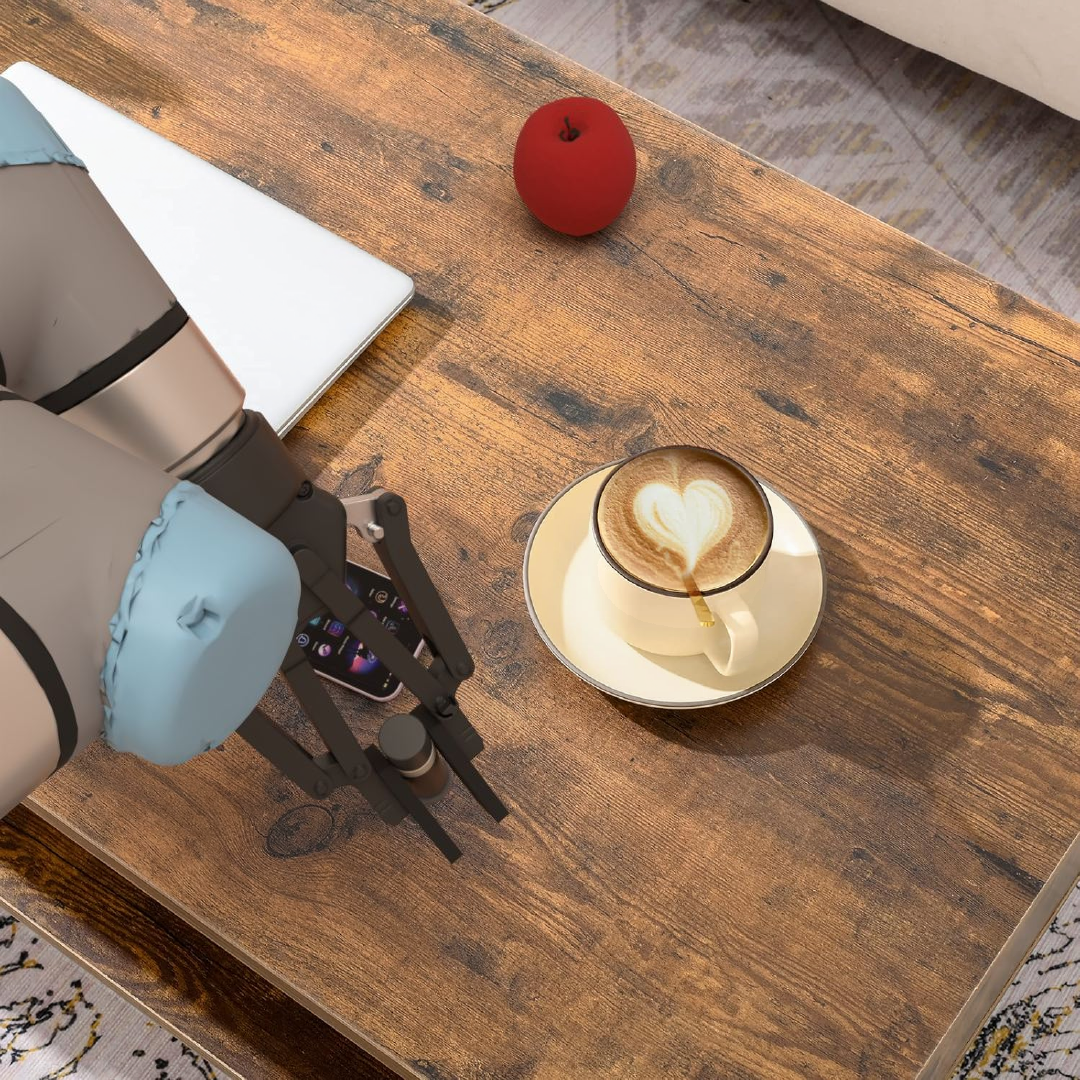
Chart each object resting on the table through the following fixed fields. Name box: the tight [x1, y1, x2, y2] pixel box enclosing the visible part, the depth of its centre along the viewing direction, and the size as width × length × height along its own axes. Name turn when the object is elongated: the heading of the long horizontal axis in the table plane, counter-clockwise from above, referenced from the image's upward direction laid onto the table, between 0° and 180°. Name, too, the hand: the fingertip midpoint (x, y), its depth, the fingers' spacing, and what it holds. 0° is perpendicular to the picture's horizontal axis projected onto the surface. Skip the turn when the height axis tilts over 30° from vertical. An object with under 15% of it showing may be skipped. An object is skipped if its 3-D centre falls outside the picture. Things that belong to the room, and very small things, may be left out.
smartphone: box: [296, 559, 426, 703], centre depth 75 cm, size 8×1×15 cm
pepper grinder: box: [377, 712, 453, 805], centre depth 57 cm, size 3×3×10 cm
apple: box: [512, 96, 637, 237], centre depth 83 cm, size 9×9×10 cm
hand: (469, 826), depth 58 cm, fingers closed on pepper grinder, 2 cm apart
